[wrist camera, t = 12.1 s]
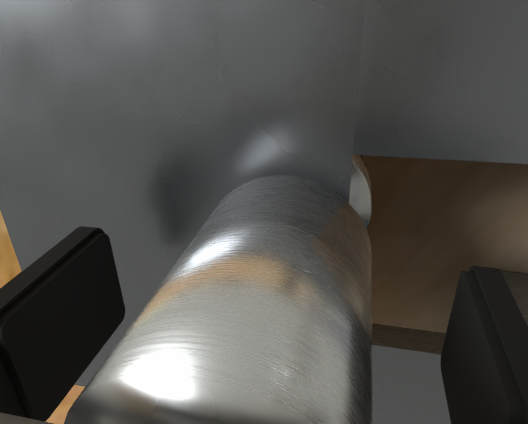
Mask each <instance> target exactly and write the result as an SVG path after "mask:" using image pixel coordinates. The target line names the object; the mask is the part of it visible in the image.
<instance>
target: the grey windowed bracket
mask: <svg viewBox="0 0 528 424" xmlns="http://www.w3.org/2000/svg"><path fill="white" fill-rule="evenodd" d="M353 155H367V156H386V157H404V158H423V159H442V160H460V161H479V162H498V163H516V164H528V0H0V210H1V213H2V216H3V219H4V221H5V224H6V227H7V230H8V233H9V236H10V239H11V241H12V244H13V247H14V250H15V253H16V256H17V259H18V261H19V264H20V267H21V270H22V271H23V270H25V269H26V268H27V267H28V266H30V265H31V264H32V263H33V262H35V261H36V260H37V259H38V258H40V257H41V256H42V255H44V254H45V253H46V252H47V251H49V250H50V249H51V248H52V247H54V246H55V245H56V244H57V243H59V242H60V241H61V240H63V239H64V238H65V237H66V236H68V235H69V234H70V233H71V232H73V231H74V230H75V229H76V228H78V227H80V226H85V227H95V228H101V229H102V230H103V231H104V233H105V234H107V235H108V236H109V238H110V242H111V247H112V251H113V256H114V260H115V265H116V269H117V274H118V278H119V283H120V287H121V292H122V296H123V301H124V305H125V316H124V319H123V321H122V323H121V324H120V325H119V326H118V328H117V329H116V330H115V332H114V333H113V334H112V336H111V337H110V338H109V340H108V341H107V342H106V344H105V345H104V346H103V347H102V349H101V350H100V351H99V353H98V354H97V355H96V357H95V358H94V359H93V361H92V362H91V363H90V365H89V366H88V367H87V368H86V370H85V371H84V372H83V374H82V375H81V376H80V378H79V379H78V380H77V382H76V383H75V384H74V385H80V386H85V387H86V386H87V384H88V383H89V381H90V380H91V379H92V377H93V376H94V375H95V373H96V372H97V370H98V369H99V368H100V366H101V365H102V364H103V362H104V361H105V359H106V358H107V357H108V355H109V354H110V353H111V351H112V350H113V348H114V347H115V346H116V344H117V343H118V342H119V340H120V339H121V338H122V336H123V335H124V333H125V332H126V331H127V329H128V328H129V327H130V325H131V324H132V322H133V321H134V320H135V318H136V317H137V316H138V314H139V313H140V311H141V310H142V309H143V307H144V306H145V305H146V303H147V302H148V300H149V299H150V298H151V296H152V295H153V294H154V292H155V291H156V289H157V288H158V287H159V285H160V284H161V283H162V281H163V280H164V279H165V277H166V276H167V274H168V273H169V272H170V270H171V269H172V268H173V266H174V265H175V263H176V262H177V261H178V259H179V258H180V257H181V255H182V254H183V252H184V251H185V250H186V248H187V247H188V246H189V244H190V243H191V241H192V240H193V239H194V237H195V236H196V235H197V233H198V232H199V230H200V229H201V228H202V226H203V225H204V224H205V222H206V221H207V220H208V218H209V217H210V215H211V214H212V213H213V211H214V210H215V209H216V207H217V206H218V204H219V203H220V202H221V201H222V200H223V198H224V197H225V196H226V195H227V194H228V193H230V192H231V191H232V190H233V189H235V188H236V187H238V186H240V185H242V184H243V183H246V182H248V181H251V180H253V179H257V178H261V177H266V176H274V175H287V176H295V177H301V178H305V179H309V180H312V181H314V182H317V183H320V184H322V185H324V186H326V187H328V188H329V189H331V190H333V191H334V192H336V193H337V194H339V195H340V196H341V197H343V198H344V199H345V200H346V201H347V202H348V203H349V198H350V186H351V174H352V161H353ZM501 272H502V274H503V276H504V278H505V280H506V282H507V284H508V286H509V288H510V291H511V293H512V295H513V297H514V299H515V301H516V303H517V305H518V307H519V309H520V311H521V314H522V316H523V318H524V320H525V322H526V324H527V326H528V273H518V272H509V271H501ZM445 336H446V334H445V333H438V332H431V331H423V330H416V329H408V328H401V327H393V326H386V325H379V324H372V392H373V424H451V421H450V415H449V410H448V405H447V400H446V394H445V389H444V384H443V379H442V373H441V365H440V362H441V353H442V349H443V345H444V341H445Z"/></svg>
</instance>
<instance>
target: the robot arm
mask: <svg viewBox="0 0 528 424" xmlns="http://www.w3.org/2000/svg"><path fill="white" fill-rule="evenodd" d="M124 316H125V305H124V301H123V296H122V292H121V287H120V283H119V278H118V274H117V269H116V265H115V260H114V256H113V251H112V247H111V242H110V238H109V236H108V235H107V234H105V233H104V231H103V230H102V229H101V228H95V227H85V226H80V227H78V228H76V229H75V230H74V231H73V232H71V233H70V234H69V235H68V236H66V237H65V238H64V239H63V240H61V241H60V242H59V243H57V244H56V245H55V246H54V247H52V248H51V249H50V250H49V251H47V252H46V253H45V254H44V255H42V256H41V257H40V258H38V259H37V260H36V261H35V262H33V263H32V264H31V265H30V266H28V267H27V268H26V269H25V270H23V271H22V272H21V273H19V274H18V275H17V276H16V277H14V278H13V279H12V280H11V281H9V282H8V283H7V284H6V285H4V286H3V287H2V288H1V289H0V424H53V423H48V422H45V421H46V420H47V419H48V418H49V417H50V416H51V414H52V413H53V412H54V410H55V409H56V408H57V407H58V405H59V404H60V403H61V401H62V400H63V399H64V397H65V396H66V395H67V393H68V392H69V391H70V389H71V388H72V387H73V386H74V384H75V383H76V382H77V380H78V379H79V378H80V376H81V375H82V374H83V372H84V371H85V370H86V368H87V367H88V366H89V365H90V363H91V362H92V361H93V359H94V358H95V357H96V355H97V354H98V353H99V351H100V350H101V349H102V347H103V346H104V345H105V344H106V342H107V341H108V340H109V338H110V337H111V336H112V334H113V333H114V332H115V330H116V329H117V328H118V326H119V325H120V324H121V323H122V321H123V319H124ZM440 365H441V373H442V379H443V384H444V389H445V394H446V400H447V405H448V410H449V415H450V421H451V424H528V326H527V324H526V322H525V320H524V318H523V316H522V314H521V311H520V309H519V307H518V305H517V303H516V301H515V299H514V297H513V295H512V293H511V291H510V288H509V286H508V284H507V282H506V280H505V278H504V276H503V274H502V272H501V270H500V269H497V268H487V267H477V266H472V267H471V268H470V270H469V272H466V271H462V272H461V274H460V278H459V282H458V286H457V290H456V294H455V299H454V303H453V307H452V311H451V315H450V320H449V324H448V328H447V332H446V336H445V341H444V345H443V349H442V353H441V362H440Z"/></svg>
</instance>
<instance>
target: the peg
mask: <svg viewBox="0 0 528 424" xmlns="http://www.w3.org/2000/svg"><path fill="white" fill-rule="evenodd" d="M370 217H371V183H370V178H369V174H368V171H367V169H366V167H365V165H364V163H363V161H362V160H361V158H360V157H359V156H358V155H353V161H352V174H351V186H350V198H349V203H348V202H347V201H346V200H345V199H344V198H343V197H341V196H340V195H339V194H337V193H336V192H334V191H333V190H331V189H329V188H328V187H326V186H324V185H322V184H320V183H317V182H314V181H312V180H309V179H305V178H301V177H295V176H287V175H274V176H266V177H261V178H257V179H253V180H251V181H248V182H246V183H243V184H242V185H240V186H238V187H236V188H235V189H233V190H232V191H231V192H230V193H228V194H227V195H226V196H225V197H224V198H223V200H222V201H221V202H220V203H219V204H218V206H217V207H216V209H215V210H214V211H213V213H212V214H211V215H210V217H209V218H208V220H207V221H206V222H205V224H204V225H203V226H202V228H201V229H200V230H199V232H198V233H197V235H196V236H195V237H194V239H193V240H192V241H191V243H190V244H189V246H188V247H187V248H186V250H185V251H184V252H183V254H182V255H181V257H180V258H179V259H178V261H177V262H176V263H175V265H174V266H173V268H172V269H171V270H170V272H169V273H168V274H167V276H166V277H165V279H164V280H163V281H162V283H161V284H160V285H159V287H158V288H157V289H156V291H155V292H154V294H153V295H152V296H151V298H150V299H149V300H148V302H147V303H146V305H145V306H144V307H143V309H142V310H141V311H140V313H139V314H138V316H137V317H136V318H135V320H134V321H133V322H132V324H131V325H130V327H129V328H128V329H127V331H126V332H125V333H124V335H123V336H122V338H121V339H120V340H119V342H118V343H117V344H116V346H115V347H114V348H113V350H112V351H111V353H110V354H109V355H108V357H107V358H106V359H105V361H104V362H103V364H102V365H101V366H100V368H99V369H98V370H97V372H96V373H95V375H94V376H93V377H92V379H91V380H90V381H89V383H88V384H87V386H86V387H85V388H84V390H83V391H82V392H81V394H80V395H79V397H78V398H77V399H76V401H75V402H74V404H73V405H72V407H71V408H70V410H69V411H68V414H67V416H66V419H65V422H64V424H373V392H372V251H371V243H370V239H369V235H368V232H367V228H368V225H369V222H370Z"/></svg>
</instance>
